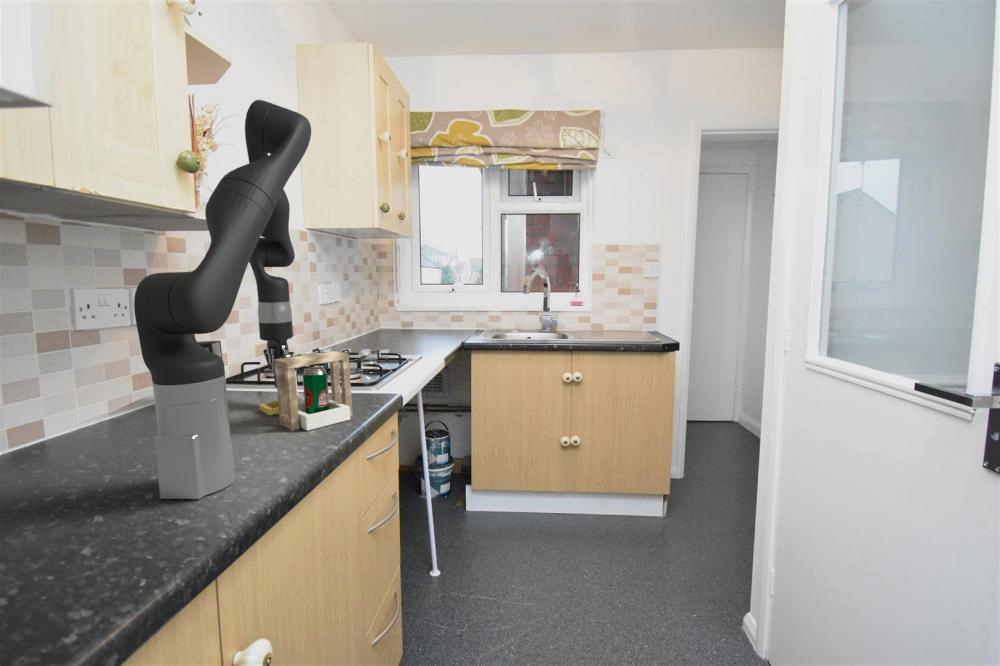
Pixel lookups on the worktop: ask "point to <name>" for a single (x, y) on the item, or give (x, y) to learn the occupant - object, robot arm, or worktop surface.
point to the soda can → (315, 390)
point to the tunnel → (288, 383)
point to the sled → (321, 414)
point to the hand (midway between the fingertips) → (280, 387)
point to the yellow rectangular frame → (269, 408)
